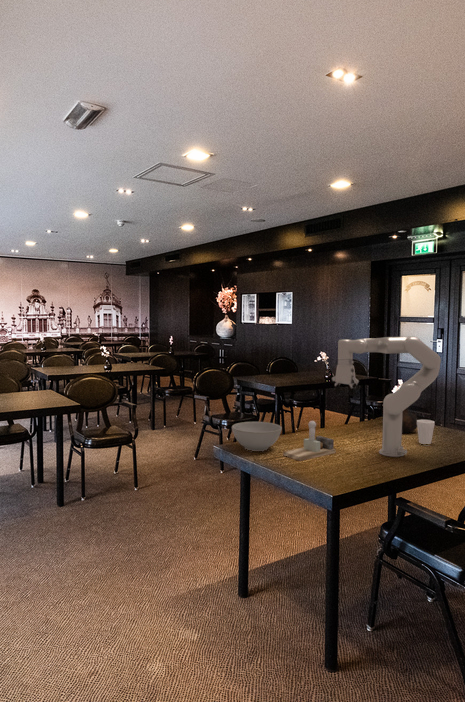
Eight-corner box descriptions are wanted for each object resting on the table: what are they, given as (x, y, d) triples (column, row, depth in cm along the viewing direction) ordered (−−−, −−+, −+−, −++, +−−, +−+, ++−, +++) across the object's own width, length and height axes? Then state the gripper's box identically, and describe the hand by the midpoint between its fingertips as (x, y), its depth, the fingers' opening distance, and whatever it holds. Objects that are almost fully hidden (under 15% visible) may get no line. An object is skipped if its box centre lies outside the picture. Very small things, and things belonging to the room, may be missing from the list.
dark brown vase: (418, 435, 301) (420, 390, 299) (387, 433, 306) (389, 388, 304) (416, 429, 318) (418, 386, 316) (387, 427, 323) (389, 385, 321)
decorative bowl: (270, 441, 283) (271, 420, 282) (289, 453, 257) (289, 430, 256) (225, 444, 275) (225, 422, 274) (239, 457, 249) (240, 433, 249)
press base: (335, 452, 259) (335, 439, 259) (299, 460, 244) (300, 447, 243) (318, 448, 269) (318, 435, 269) (283, 455, 253) (283, 442, 253)
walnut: (324, 448, 260) (324, 443, 260) (319, 449, 258) (319, 443, 258) (319, 447, 263) (319, 441, 263) (314, 448, 261) (314, 442, 261)
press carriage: (320, 451, 255) (321, 421, 254) (315, 452, 252) (316, 422, 251) (308, 447, 262) (308, 419, 261) (302, 448, 260) (303, 419, 259)
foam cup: (434, 446, 275) (435, 423, 274) (416, 445, 278) (417, 422, 277) (433, 442, 284) (433, 420, 283) (415, 441, 287) (416, 419, 286)
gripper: (362, 363, 259) (362, 395, 260) (337, 361, 272) (337, 392, 273) (353, 364, 254) (353, 397, 255) (328, 361, 268) (327, 393, 269)
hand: (344, 394), depth 264 cm, fingers open, 9 cm apart
